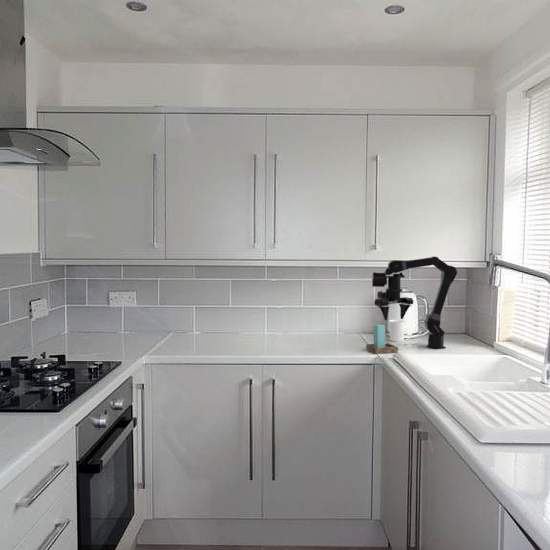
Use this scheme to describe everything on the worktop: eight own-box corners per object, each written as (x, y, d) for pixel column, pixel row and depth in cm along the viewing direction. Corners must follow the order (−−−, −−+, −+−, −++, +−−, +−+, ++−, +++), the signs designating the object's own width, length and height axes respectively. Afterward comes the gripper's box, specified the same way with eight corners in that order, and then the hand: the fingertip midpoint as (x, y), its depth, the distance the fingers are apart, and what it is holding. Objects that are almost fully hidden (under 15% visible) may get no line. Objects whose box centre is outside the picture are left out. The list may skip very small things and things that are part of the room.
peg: (380, 350, 240) (381, 324, 239) (384, 352, 236) (385, 325, 235) (373, 350, 239) (373, 324, 238) (377, 352, 235) (377, 326, 234)
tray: (387, 348, 244) (387, 343, 244) (397, 352, 234) (398, 347, 234) (366, 349, 241) (366, 344, 241) (375, 354, 231) (375, 348, 231)
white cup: (404, 339, 265) (405, 320, 265) (404, 342, 258) (404, 322, 257) (389, 338, 267) (389, 319, 267) (388, 341, 260) (388, 321, 259)
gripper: (399, 284, 256) (399, 316, 257) (367, 286, 249) (367, 318, 250) (414, 286, 246) (413, 319, 247) (381, 288, 239) (381, 321, 240)
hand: (393, 319), depth 246 cm, fingers open, 9 cm apart
